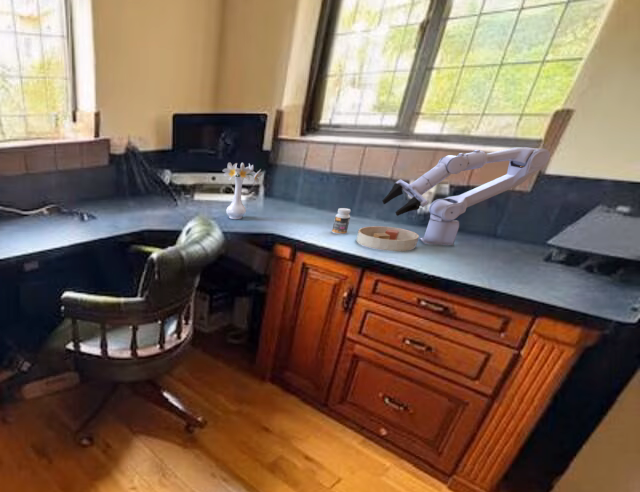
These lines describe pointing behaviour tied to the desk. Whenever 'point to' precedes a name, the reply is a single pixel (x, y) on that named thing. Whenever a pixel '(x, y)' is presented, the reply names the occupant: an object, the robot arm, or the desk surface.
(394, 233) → the terracotta block
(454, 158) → the robot arm
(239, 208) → the flower vase
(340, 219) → the pill bottle
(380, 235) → the beech block
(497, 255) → the desk surface
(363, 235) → the bowl
